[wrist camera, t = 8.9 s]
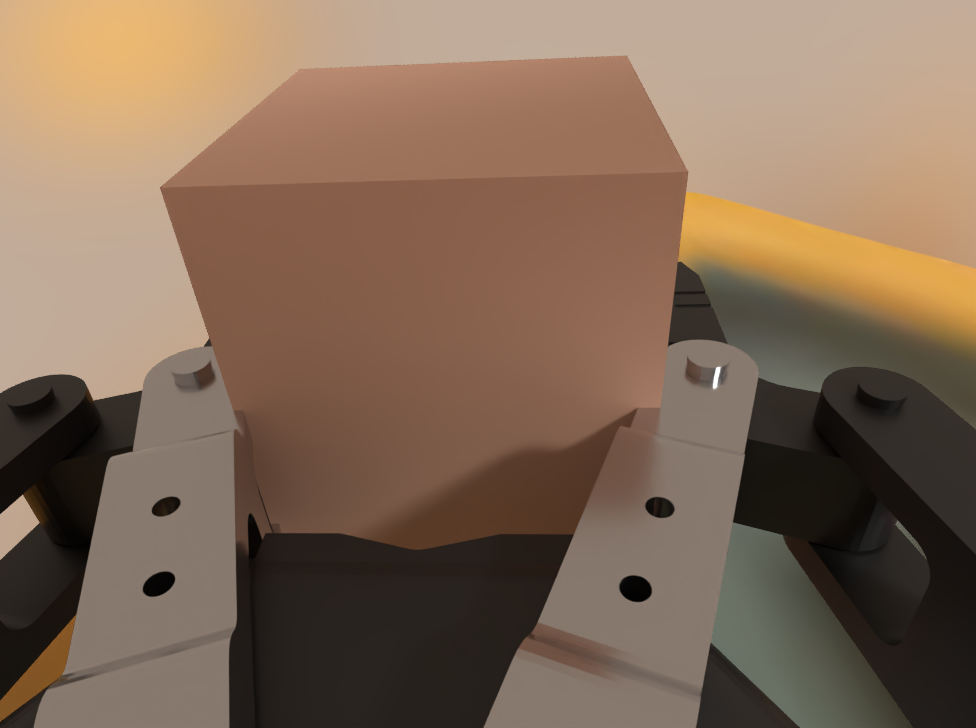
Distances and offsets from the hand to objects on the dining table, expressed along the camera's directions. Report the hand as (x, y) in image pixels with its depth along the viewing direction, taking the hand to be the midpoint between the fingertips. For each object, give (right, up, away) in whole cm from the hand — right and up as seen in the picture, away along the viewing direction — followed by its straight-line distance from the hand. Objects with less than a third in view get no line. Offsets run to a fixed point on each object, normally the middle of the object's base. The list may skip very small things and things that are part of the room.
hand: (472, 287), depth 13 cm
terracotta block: (0, -6, +1) cm, 7 cm away
